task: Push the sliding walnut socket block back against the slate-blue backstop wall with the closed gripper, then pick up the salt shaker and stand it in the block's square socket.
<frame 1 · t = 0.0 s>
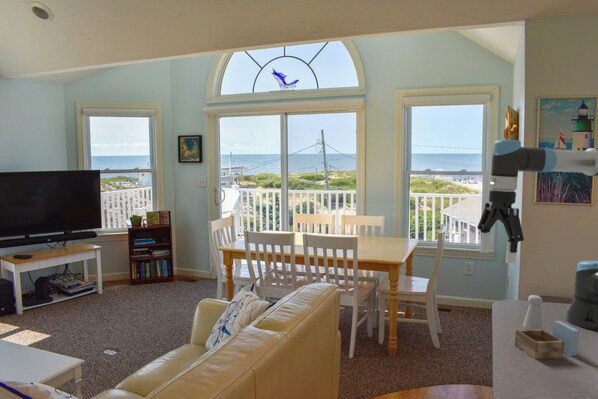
hand: (496, 257, 143), 28 cm above the kitchen counter, fingers open, 13 cm apart
salt shaker: (531, 333, 156), on the kitchen counter
wall: (563, 350, 143), on the kitchen counter
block: (538, 343, 141), point 2 cm above the kitchen counter, slide at 3.0 cm
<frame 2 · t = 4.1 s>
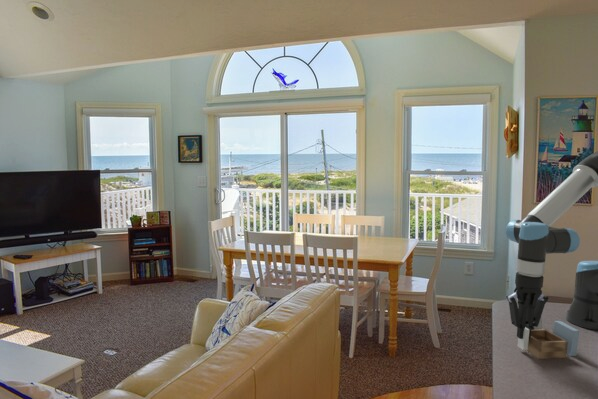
hand: (522, 348, 140), 1 cm above the kitchen counter, fingers closed
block: (542, 343, 141), point 3 cm above the kitchen counter, slide at 1.8 cm, touching gripper
everything else where it was.
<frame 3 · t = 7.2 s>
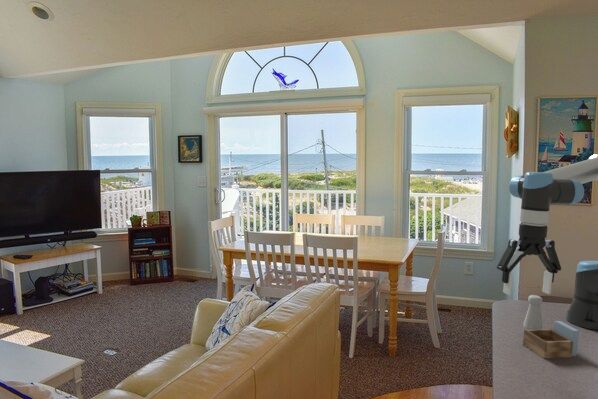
hand: (526, 293, 138), 19 cm above the kitchen counter, fingers open, 13 cm apart
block: (547, 343, 142), point 2 cm above the kitchen counter, slide at 0.0 cm
everything else where it was.
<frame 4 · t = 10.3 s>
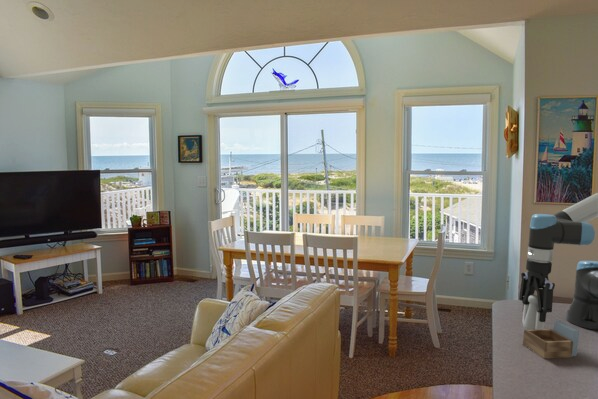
hand: (532, 326, 156), 2 cm above the kitchen counter, fingers closed on salt shaker, 6 cm apart
salt shaker: (531, 333, 156), on the kitchen counter, touching gripper
everything else where it was.
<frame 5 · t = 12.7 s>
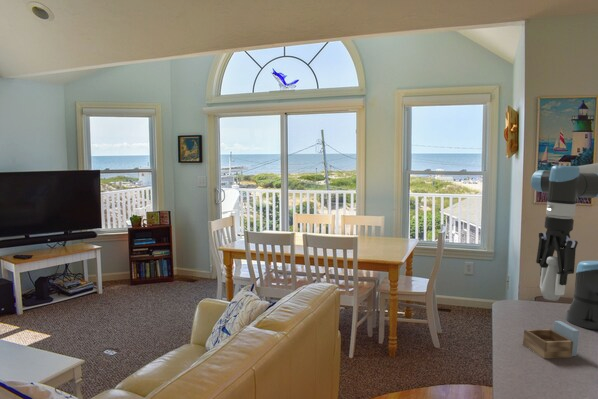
hand: (551, 291, 140), 19 cm above the kitchen counter, fingers closed on salt shaker, 6 cm apart
salt shaker: (550, 299, 140), point 16 cm above the kitchen counter, touching gripper
everything else where it was.
when the fingers open (6 cm above the kitchen counter, at t = 15.4 s): salt shaker drops 2 cm, resting on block.
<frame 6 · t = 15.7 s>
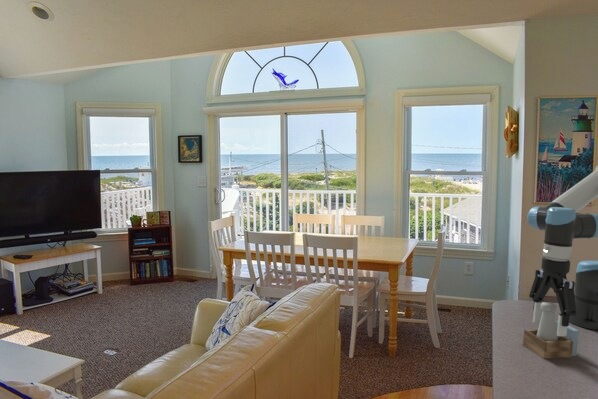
hand: (548, 328, 141), 7 cm above the kitchen counter, fingers open, 10 cm apart
salt shaker: (546, 344, 142), point 2 cm above the kitchen counter, touching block
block: (547, 343, 142), point 2 cm above the kitchen counter, slide at 0.0 cm, touching salt shaker
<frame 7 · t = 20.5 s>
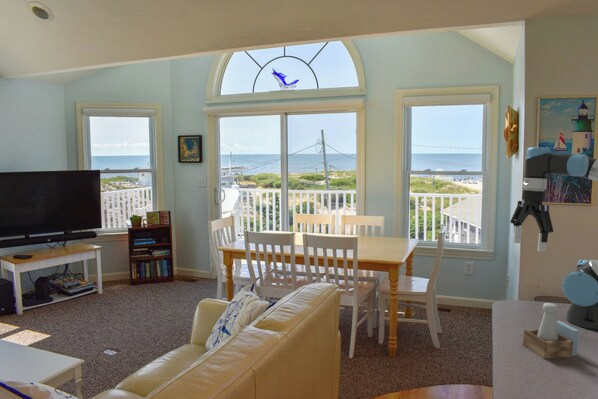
hand: (528, 246, 169), 27 cm above the kitchen counter, fingers open, 13 cm apart
nothing on the kitchen counter moved.
at the end: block slide at 0.0 cm; salt shaker 0.1 cm off-centre on the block, point 1.8 cm above the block's base; salt shaker tilted 0° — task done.
